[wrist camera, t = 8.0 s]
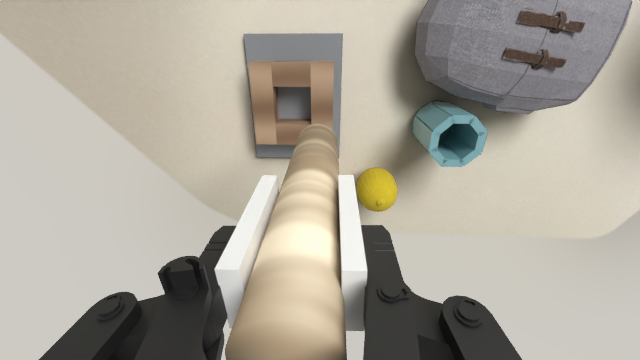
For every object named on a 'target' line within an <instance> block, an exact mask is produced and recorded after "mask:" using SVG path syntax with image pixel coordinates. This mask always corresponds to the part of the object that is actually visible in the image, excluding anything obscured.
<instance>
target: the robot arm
mask: <svg viewBox="0 0 640 360" xmlns="http://www.w3.org/2000/svg"><path fill="white" fill-rule="evenodd" d="M278 195H279V187H278V178H277V175H263V176H262V178H261V180H260V182H259V184H258V185H257V187H256V189H255V191H254V193H253V195H252V197H251V199H250V201H249V203H248V205H247V207H246V209H245V211H244V213H243V215H242V217H241V219H240V220H239V222H238V224H237V226H223V227H221V228H220V229H219V230H218V231H216V232H215V233H214V234H213V236H212V238H211V239H210V241H209V244H207V246H206V247H205V249H204V251H203V252H202V254H201V256H200V257H199V258H198V257H196V256H185V257H180V258H177V259H175V260H173V261H170V262H169V263H167V264H166V265H165V266H163V267H162V268H161V270H160V271H159V272H158V275H159V278H160V281H161V283H162V286H163V289H164V291H165V294H164V295H161V296H158V297H154V298H150V299H146V300H142V301H137V299H136V297H135V296H134V294H132V293H129V292H119V293H115V294H112V295H109V296H107V297H106V298H104V299H102V300H100V301H99V302H97V303H96V304H95V305H94V306H92V307H91V308H90V309H89V310H88V311H87V312H86V313H85V314H84V315H83V316H82V317H81V318H80V319H79V320H78V321H77V322H76V323H75V324H74V325H73V326H72V327H71V328H70V329H69V330H68V331H67V332H66V333H65V334H64V335H63V336H62V337H61V338H60V339H59V340H58V341H57V342H56V343H55V344H54V345H53V346H52V347H51V348H50V349H49V350H48V351H47V352H46V353H45V354H44V355H43V356H42V357H41V358H40V359H39V360H221V355H222V350H223V345H224V334H223V327H224V324H225V322H226V319H228V323H229V327H230V328H232V327H233V324H234V321H235V318H236V316H237V313H238V310H239V307H240V304H241V301H242V298H243V295H244V293H245V290H246V287H247V284H248V281H249V278H250V275H251V272H252V270H253V267H254V264H255V261H256V258H257V255H258V252H259V250H260V247H261V244H262V241H263V238H264V235H265V232H266V229H267V227H268V224H269V221H270V218H271V215H272V212H273V209H274V206H275V204H276V201H277V198H278ZM338 195H339V226H340V257H341V287H342V294H343V297H344V306H345V330H346V331H364V330H365V342H364V358H363V360H522V359H521V357H520V356H519V354H518V353H517V351H516V350H515V348H514V347H513V345H512V344H511V343H510V341H509V339H508V338H507V336H506V335H505V333H504V332H503V330H502V329H501V327H500V326H499V324H498V323H497V321H496V320H495V318H494V317H493V315H492V314H491V313H490V312H489V311H488V310H487V309H486V307H485V306H483V305H482V304H480V303H479V302H477V301H476V300H473V299H471V298H468V297H465V296H453V297H449V298H448V299H446V300H445V301H444V302H443V304H441V303H438V302H434V301H430V300H427V299H424V298H422V297H420V296H418V295H416V294H414V293H413V292H412V291H411V289H410V288H409V287H408V286H407V285H406V284H405V283H404V281H403V278H402V275H401V271H400V267H399V264H398V261H397V257H396V254H395V251H394V247H393V244H392V240H391V236H390V233H389V232H388V231H387V230H386V229H385V228H384V227H383V226H382V225H361V223H360V216H359V210H358V203H357V196H356V189H355V182H354V175H338Z"/></svg>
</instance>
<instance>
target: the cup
mask: <svg viewBox="0 0 640 360" xmlns="http://www.w3.org/2000/svg"><path fill="white" fill-rule="evenodd" d="M412 129H413V135H414V136H415V137H416V138H417V139H418V141H419V142H420V143H421V144H422V145H423V146H424V148H425V149H426V150H427V151H428V152H429V153H430V154H431V156H432V157H433V158H434V159H435V160H436V161H437V162H438V163H439V165H440V166H442V167H462V165H463V166H465V165H466V164H468V163H469V162H470V161H472V160H473V159H474V158H476V157H477V156H479V155H480V154H481V152H483V148H484V144H485V140H486V137H487V133H488V132H487V130H486V129H485V127H484V126H483V125H482V123H481V122H480V121H479V120H478V118H477V117H476V116H475V115H473V114H471V113H469V112H467V111H465V110H463V109H461V108H459V107H457V106H455V105H454V104H452V103H447V102H441V101H435V102H431V103H428V104H426V105H425V106H423V107H422V108H421V109H420V110H419V111H418V112H417V113H416V115H415V117H414V119H413V123H412Z"/></svg>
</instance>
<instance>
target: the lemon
mask: <svg viewBox="0 0 640 360" xmlns="http://www.w3.org/2000/svg"><path fill="white" fill-rule="evenodd" d="M356 191H357V195H358V198H359V200H360V202H361V203H362V204H363V205H364V206H365V207H366V208H367V209H369V210H372V211H377V212H379V211H384V210H387V209H388V208H390V207H391V206H392V205H393V204H394V202H395V200H396V197H397V185H396V182H395V179H394V178H393V176H392V175H391V174H390V173H389V172H388V171H386V170H384V169H381V168H371V169H368V170H366V171H364V172H363V173H362V174H361V175H360V177H359V178H358V181H357V186H356Z"/></svg>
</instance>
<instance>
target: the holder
mask: <svg viewBox="0 0 640 360" xmlns="http://www.w3.org/2000/svg"><path fill="white" fill-rule="evenodd" d="M248 68H249V78H250V87H251V97H252V106H253V116H254V125H255V134H256V144H276V145H296V143H297V140H298V138H299V135H300V133H301V132H302V131H303V130H304V129H305V128H306V127H308V126H310V125H313V124H322V125H325V126H327V127H329V128H330V129H331V130H332V131H333V83H334V61H251V62H248ZM277 87H311V119H279V104H278V89H277Z"/></svg>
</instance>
